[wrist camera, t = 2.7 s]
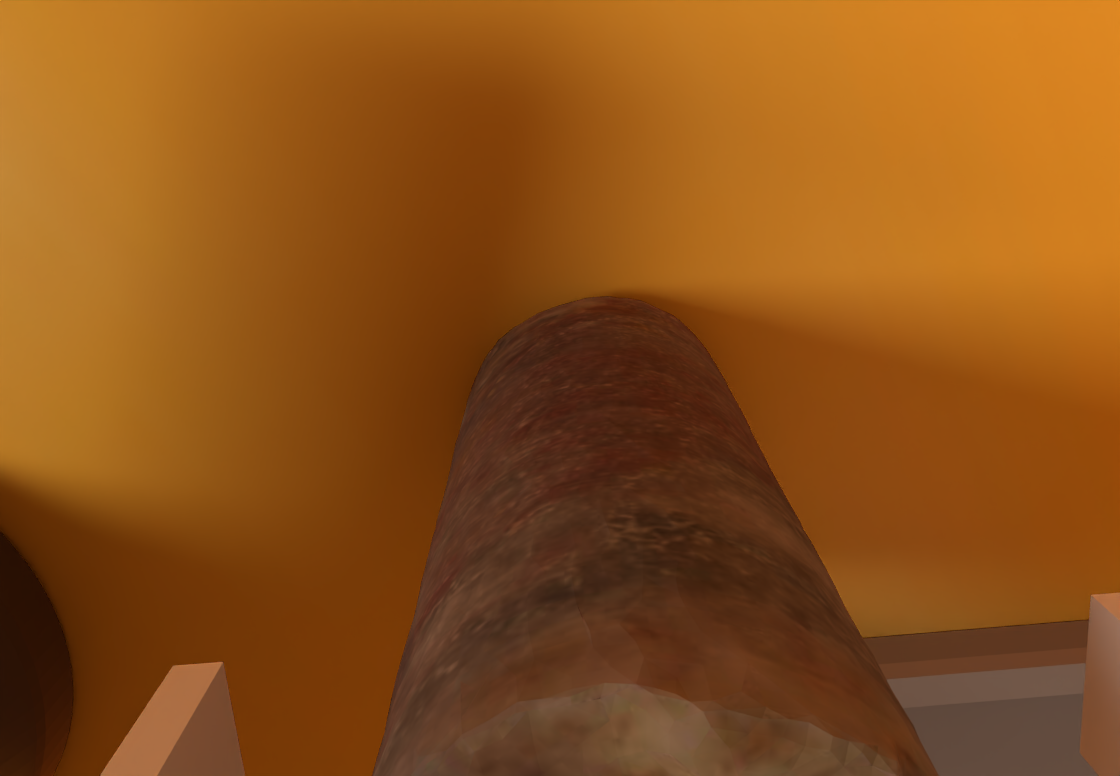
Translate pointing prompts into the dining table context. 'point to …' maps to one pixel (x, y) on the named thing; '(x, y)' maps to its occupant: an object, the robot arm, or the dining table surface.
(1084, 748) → the robot arm
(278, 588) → the dining table surface
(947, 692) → the tray
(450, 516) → the brown cylinder
